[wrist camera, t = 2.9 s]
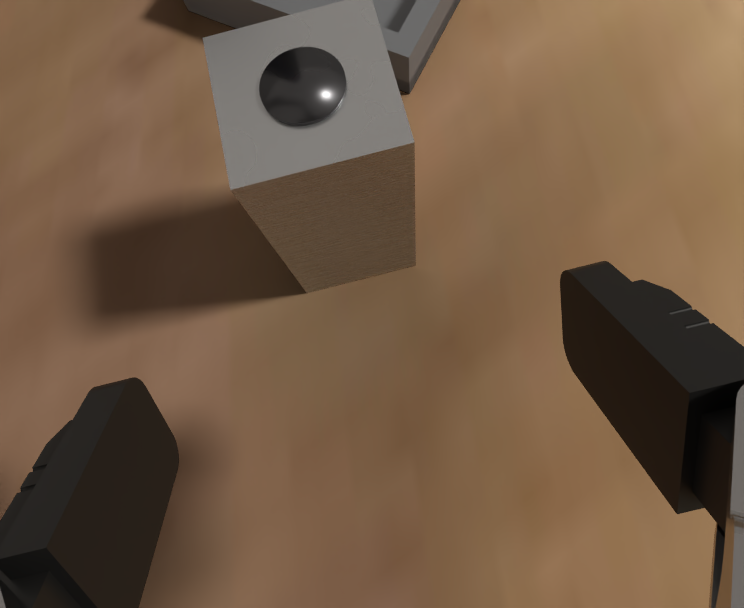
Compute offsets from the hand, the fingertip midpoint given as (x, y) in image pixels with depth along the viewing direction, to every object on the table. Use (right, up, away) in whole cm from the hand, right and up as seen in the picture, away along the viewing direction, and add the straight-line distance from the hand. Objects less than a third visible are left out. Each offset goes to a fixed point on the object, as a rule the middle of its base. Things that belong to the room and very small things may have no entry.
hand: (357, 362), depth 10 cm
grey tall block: (-1, +5, +14) cm, 15 cm away
